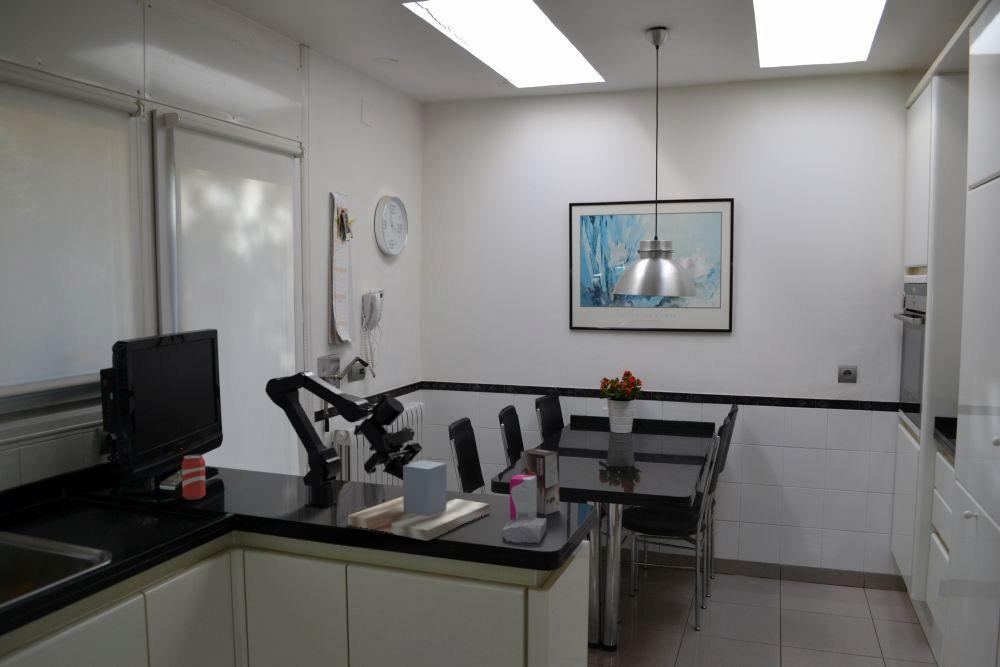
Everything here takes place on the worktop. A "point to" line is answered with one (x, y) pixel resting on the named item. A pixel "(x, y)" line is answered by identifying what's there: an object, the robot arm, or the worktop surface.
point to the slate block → (424, 487)
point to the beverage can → (193, 477)
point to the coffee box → (543, 477)
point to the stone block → (525, 529)
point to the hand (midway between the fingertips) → (411, 482)
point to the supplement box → (523, 496)
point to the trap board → (418, 518)
